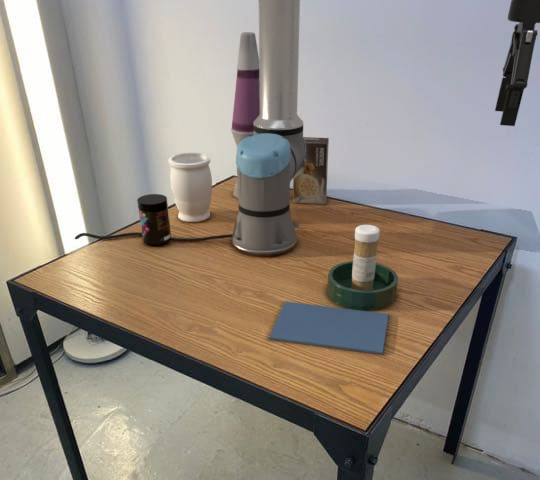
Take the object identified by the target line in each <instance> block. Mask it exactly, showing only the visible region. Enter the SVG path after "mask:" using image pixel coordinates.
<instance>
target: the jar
mask: <svg viewBox="0 0 540 480" xmlns="http://www.w3.org/2000/svg"><path fill="white" fill-rule="evenodd" d="M167 160H168V165H169V166H170V171H169V182H170V188H171V192H172V196H173V199H174V200H173V201H174V204H175V206H176V208H177V210H178V211H179V212H178V214H177V217H178V219H179V220H181V221H182V222H186V223H187V222H188V223H198V222H204V221H206V220H207V219H210V217H211V212H210V211H209V208H210V207H211V202H212V191H213V179H212V178H213V177H212V172H211V167H210V165H209V164H210V163H211V157H210V155H208V154H207V153H201V152H183V153H177V154H174V155H172V156H170V157H168V158H167Z"/></svg>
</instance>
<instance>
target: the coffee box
mask: <svg viewBox="0 0 540 480" xmlns="http://www.w3.org/2000/svg"><path fill="white" fill-rule="evenodd" d="M303 137H304V140H305V143H306V156H305V160H304V163H303V165H302V167H301V168H300V170H299V171H298V172H297V173H296V175H295V176H294V177H293V179H292V203H293V204H312V205H326V202H327V199H328V168H329V167H328V166H329V165H328V164H329V143H330V142H329V141H330V138H329V137H310V136H303Z"/></svg>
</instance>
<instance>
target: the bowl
mask: <svg viewBox="0 0 540 480" xmlns="http://www.w3.org/2000/svg"><path fill="white" fill-rule="evenodd" d="M352 268H353V260H349V261H344V262H340V263H337V264H335V265H334V266H332V267H331V268H330V269H329V271H328V273H327V283H326V284H327V286H326V292H327V293H326V294H327V297H328V298H329V299H330V301H331V302H332V303H334V304H335V305H337V306H339V307H341V308H343V309H351V310H360V311H368V312H373V311H377V310H378V311H379V310H382V309H385V308H387V307H389V306H391V305H392V304H393V303H394V302H395V300H396V297H397V288H398V281H399V276H398V274H397V272H396V271H395V270H393V269H392V268H391V267H389V266H387V265H384V264H383V263H378V262H376V267H375V275H374V280H373V290H372V291H362V290H354V289H351V284H352Z"/></svg>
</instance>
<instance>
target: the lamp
mask: <svg viewBox="0 0 540 480" xmlns="http://www.w3.org/2000/svg"><path fill="white" fill-rule="evenodd" d="M255 33H256V32H253V31H246V32H245V31H244V32H241V33H240V37H239V46H238V55H237V65H236V79H235V81H236V82H235V91H234V102H233V111H232V121H231V128H230V132H231V135H232V137H233V140H234V143H235V145H236V148H237V147H238V145H239V143H240V142H241V141H242V140H243V139H245V138H246V137H249V136H250V137H252V136H253V135H254V130H253V122H254V121H255V119H256V118H257V117H258V116H259V114H260V86H259V48H258V44H257V37H256V34H255ZM232 196H233V197H235V198H236V199H238V182H237V179H236V180H235V184H234V188H233V193H232Z"/></svg>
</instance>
